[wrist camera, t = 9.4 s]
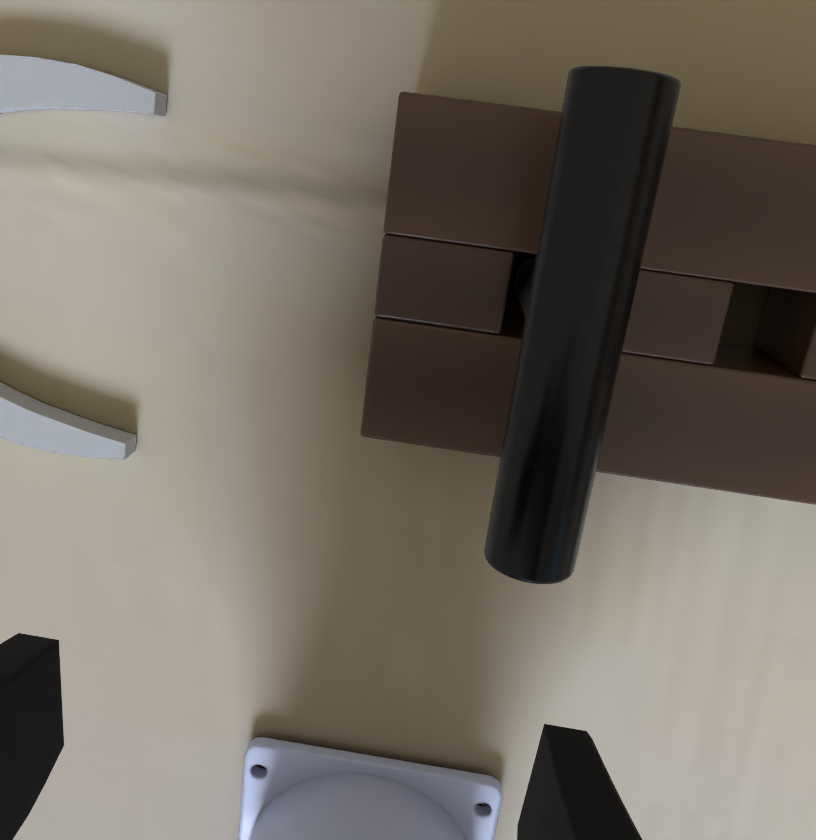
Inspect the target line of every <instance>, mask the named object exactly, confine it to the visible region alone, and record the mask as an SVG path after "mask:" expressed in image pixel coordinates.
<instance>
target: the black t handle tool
mask: <svg viewBox="0 0 816 840" xmlns="http://www.w3.org/2000/svg"><path fill="white" fill-rule="evenodd" d="M680 86H681V85H680V81H679V80H678V79H676V78H674V77H672V76H669V75H666V74H662V73H657V72H652V71H646V70H639V69H632V68H623V67H610V66H581V67H576V68H573V69H571V70H570V72H569V74H568V80H567V85H566V91H565V97H564V102H563V108H562V114H561V119H560V125H559V131H558V136H557V142H556V147H555V153H554V159H553V164H552V170H551V176H550V181H549V187H548V193H547V198H546V204H545V210H544V215H543V221H542V227H541V232H540V238H539V244H538V249H537V255H536V257H535V258H532V259H530V260H528V261H526V262H525V263H524V264H523V265H522V266H521V267H520V269H519V270H518V273H517V275H516V289H517V292H518V295H519V299H520V302H521V306H522V309H523V313H524V316H525V323H524V328H523V334H522V340H521V345H520V351H519V357H518V362H517V368H516V374H515V379H514V385H513V390H512V396H511V402H510V407H509V413H508V419H507V424H506V430H505V436H504V441H503V447H502V453H501V458H500V464H499V470H498V475H497V481H496V487H495V492H494V498H493V503H492V509H491V515H490V520H489V526H488V532H487V537H486V543H485V549H484V554H485V557H486V560H487V561H488V563H489V564H490V565H491V566H492V567H493V568H495V569H496V570H497V571H499V572H501V573H502V574H504V575H506V576H509V577H511V578H514V579H517V580H520V581H524V582H529V583H536V584H553V583H558V582H562V581H564V580H566V579H568V578H569V577H570V576H571V575H572V573H573V571H574V568H575V563H576V558H577V554H578V549H579V545H580V540H581V536H582V531H583V527H584V522H585V518H586V513H587V508H588V504H589V499H590V495H591V490H592V486H593V481H594V477H595V472H596V468H597V463H598V458H599V454H600V449H601V445H602V440H603V436H604V431H605V427H606V422H607V418H608V413H609V409H610V404H611V399H612V395H613V390H614V386H615V381H616V377H617V372H618V368H619V363H620V359H621V354H622V349H623V345H624V340H625V336H626V331H627V327H628V322H629V318H630V313H631V309H632V304H633V300H634V295H635V290H636V286H637V281H638V277H639V272H640V268H641V263H642V259H643V254H644V250H645V245H646V240H647V236H648V231H649V227H650V222H651V218H652V213H653V209H654V204H655V200H656V195H657V191H658V186H659V181H660V177H661V172H662V168H663V163H664V159H665V154H666V150H667V145H668V141H669V136H670V131H671V127H672V122H673V118H674V113H675V109H676V104H677V100H678V95H679V91H680Z"/></svg>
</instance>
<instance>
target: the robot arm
mask: <svg viewBox="0 0 816 840" xmlns="http://www.w3.org/2000/svg"><path fill="white" fill-rule="evenodd" d="M63 746H64V736H63V717H62V697H61V677H60V657H59V640H55V639H49V638H44V637H38V636H32V635H26V634H20V633H18V634H17V635H15V636H13V637H12V638H10V639H8V640H7V641H5V642H3V643H2V644H0V840H12V839H13V838H14V836H15V835H16V833H17V832H18V830H19V829H20V827H21V826H22V824H23V822H24V821H25V819H26V818H27V816H28V815H29V813H30V811H31V809H32V807H33V805H34V804H35V802H36V800H37V798H38V796H39V794H40V792H41V790H42V788H43V786H44V785H45V783H46V781H47V779H48V777H49V775H50V773H51V770H52V768H53V766H54V764H55V762H56V760H57V758H58V756H59V754H60V752H61V750H62V748H63ZM257 764H260V765H262V766H264V767H265V768H266V769H261V768H258V767H257V766H256V765H257ZM501 800H502V786H501V784H500V782H499V781H498V780H497V779H496V778H494V777H492V776H489V775H484V774H478V773H472V772H466V771H460V770H454V769H449V768H443V767H437V766H431V765H425V764H419V763H413V762H407V761H401V760H395V759H389V758H383V757H377V756H372V755H366V754H360V753H354V752H348V751H342V750H336V749H330V748H324V747H318V746H312V745H306V744H301V743H295V742H289V741H283V740H277V739H271V738H265V737H258V738H255V739H252V740H251V741H250V742H249V744H248V747H247V749H246V752H245V756H244V770H243V783H242V797H241V811H240V824H239V838H238V840H493V839H494V834H495V829H496V824H497V820H498V815H499V810H500V805H501ZM479 803H486V804H489V805H487V806H479V805H477V804H479ZM517 840H642V838H641V837H640V835H639V833H638V831H637V829H636V827H635V825H634V823H633V822H632V820H631V818H630V816H629V814H628V812H627V810H626V808H625V806H624V804H623V802H622V800H621V798H620V796H619V794H618V792H617V790H616V788H615V786H614V784H613V782H612V780H611V778H610V776H609V774H608V772H607V770H606V768H605V766H604V763H603V761H602V759H601V757H600V755H599V753H598V751H597V748H596V746H595V744H594V742H593V740H592V738H591V737H590V735H589V734H588V733H587V731H582V730H576V729H570V728H565V727H559V726H553V725H547V724H544V727H543V731H542V735H541V739H540V743H539V746H538V750H537V754H536V758H535V762H534V765H533V769H532V773H531V777H530V781H529V784H528V788H527V792H526V796H525V800H524V803H523V807H522V811H521V815H520V819H519V822H518V834H517Z"/></svg>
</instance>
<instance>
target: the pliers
mask: <svg viewBox="0 0 816 840" xmlns="http://www.w3.org/2000/svg"><path fill="white" fill-rule="evenodd" d="M166 103H167V95H165V94H163V93H160V92H158V91H155V90H153V89H150V88H148V87H145V86H142V85H140V84H137V83H135V82H132V81H130V80H127V79H124V78H121V77H117V76H114V75H111V74H108V73H105V72H102V71H99V70H95V69H92V68H89V67H85V66H81V65H77V64H71V63H66V62H60V61H54V60H49V59H43V58H37V57H26V56H13V55H0V113H5V112H15V111H24V110H37V109H52V108H65V109H91V110H109V111H127V112H136V113H145V114H153V115H162V116H165V115H166ZM136 437H137V435H134V434H131V433H128V432H125V431H121V430H118V429H115V428H112V427H108V426H105V425H102V424H99V423H96V422H94V421H91V420H88V419H85V418H83V417H80V416H77V415H74V414H71V413H69V412H66V411H63V410H61V409H58V408H55V407H53V406H50V405H47V404H45V403H42V402H40V401H38V400H36V399H34V398H32V397H30V396H27V395H25V394H23V393H21V392H19V391H17V390H15V389H13V388H11V387H9V386H7V385H5V384H3V383H1V382H0V438H3V439H6V440H9V441H12V442H15V443H18V444H21V445H25V446H29V447H33V448H37V449H41V450H45V451H49V452H53V453H58V454H66V455H74V456H81V457H89V458H104V459H119V460H125V459H126V458H127V457H128V456H129V455H131V454H132V453H133V452H134V451H135V448H136Z"/></svg>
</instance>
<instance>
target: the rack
mask: <svg viewBox="0 0 816 840" xmlns="http://www.w3.org/2000/svg"><path fill="white" fill-rule="evenodd" d="M561 114H562V112H555V111H548V110H540V109H532V108H525V107H517V106H509V105H502V104H494V103H486V102H479V101H471V100H463V99H456V98H448V97H440V96H433V95H425V94H417V93H409V92H400V94H399V99H398V107H397V116H396V125H395V134H394V143H393V151H392V160H391V169H390V178H389V186H388V195H387V204H386V213H385V222H384V233H386V234H385V235H384V237H383V240H382V249H381V258H380V267H379V276H378V284H377V293H376V302H375V311H374V313H375V316H376V317H375V318H374V320H373V328H372V336H371V345H370V354H369V363H368V371H367V380H366V389H365V398H364V406H363V415H362V424H361V436H363V437H370V438H376V439H383V440H390V441H396V442H403V443H410V444H416V445H423V446H430V447H436V448H443V449H449V450H456V451H463V452H469V453H476V454H483V455H489V456H496V457H501V453H502V447H503V441H504V436H505V430H506V424H507V419H508V413H509V407H510V402H511V396H512V390H513V385H514V379H515V374H516V368H517V362H518V357H519V351H520V345H521V340H522V334H523V328H524V323H525V316H523V315H516V314H509V313H504V312H505V306H506V300H507V294H508V288H509V282H510V276H511V270H512V264H513V259H514V254H513V251H514V252H522V253H529V254H536V255H537V249H538V244H539V238H540V232H541V227H542V221H543V215H544V210H545V204H546V198H547V193H548V187H549V181H550V176H551V170H552V164H553V159H554V153H555V147H556V142H557V136H558V131H559V125H560V119H561ZM733 282H738V283H745V284H753V285H760V286H767V287H771V289H770V292H769V296H768V300H767V303H766V307H765V311H764V314H763V318H762V321H761V325H760V329H759V332H758V336H757V340H756V343H755V348H757V349H755V348H748V347H741V346H734V345H727V344H720V343H719V342H720V338H721V335H722V331H723V327H724V323H725V319H726V315H727V312H728V308H729V304H730V300H731V296H732V292H733V289H734V283H733ZM596 472H602V473H609V474H616V475H622V476H629V477H636V478H642V479H649V480H655V481H662V482H669V483H675V484H682V485H689V486H695V487H702V488H709V489H715V490H722V491H729V492H735V493H742V494H748V495H755V496H762V497H768V498H775V499H782V500H788V501H795V502H802V503H808V504H815V505H816V145H809V144H801V143H794V142H786V141H778V140H771V139H763V138H755V137H747V136H740V135H732V134H724V133H717V132H709V131H701V130H694V129H686V128H678V127H671V131H670V136H669V141H668V145H667V150H666V154H665V159H664V163H663V168H662V172H661V177H660V181H659V186H658V191H657V195H656V200H655V204H654V209H653V213H652V218H651V222H650V227H649V231H648V236H647V240H646V245H645V250H644V254H643V259H642V263H641V268H640V272H639V277H638V281H637V286H636V290H635V295H634V300H633V304H632V309H631V313H630V318H629V322H628V327H627V331H626V336H625V340H624V345H623V349H622V354H621V359H620V363H619V368H618V372H617V377H616V381H615V386H614V390H613V395H612V399H611V404H610V409H609V413H608V418H607V422H606V427H605V431H604V436H603V440H602V445H601V449H600V454H599V458H598V463H597V468H596Z"/></svg>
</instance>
